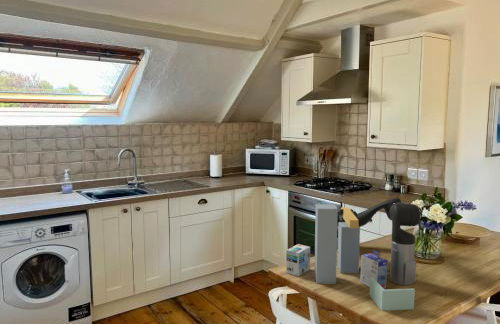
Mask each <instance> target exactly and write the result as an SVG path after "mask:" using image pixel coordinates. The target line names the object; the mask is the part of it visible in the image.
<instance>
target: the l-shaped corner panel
mask: <svg viewBox="0 0 500 324" xmlns="http://www.w3.org/2000/svg"><path fill="white" fill-rule="evenodd" d="M415 293H416V290H415V288H391V289H387V288H386V289H383V288H382V287H381V285H380V284H379V283H378V282H377V281H376V280H375V279H374V278H373V277H370V287H369V297H370V298H371V299H372V301H374V303H375V304H376V305H377V306H378V308H379V309H380V310H381V311H403V310H414V309H415V298H416V297H415V296H416V295H415Z"/></svg>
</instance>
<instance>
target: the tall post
mask: <svg viewBox="0 0 500 324" xmlns="http://www.w3.org/2000/svg"><path fill="white" fill-rule="evenodd" d="M337 212H339V210H338V206H336V205H335V204H333V203H331V204H327V203H326V204H325V203H324V204H323V203H322V204H319V203H318V204H317V203H315V217H314V218H315V224H314V225H315V228H314V229H315V230H314V231H315V232H314V278H315V282H316V284H328V285H329V284H331V285H332V284H335V285H336V284H337V258H338V238H337Z"/></svg>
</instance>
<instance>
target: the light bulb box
mask: <svg viewBox="0 0 500 324" xmlns="http://www.w3.org/2000/svg"><path fill="white" fill-rule="evenodd" d="M285 255H286V265H285V266H286V274H289V275H293V276H297V277H300V276H301V275H303V274H305V273H306V272H308V271H310V270H311V246H308V245H303V244H300V243H298V244H296V245H294V246H292V247H290V248H288V249H286V254H285Z"/></svg>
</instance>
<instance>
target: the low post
mask: <svg viewBox="0 0 500 324" xmlns="http://www.w3.org/2000/svg"><path fill="white" fill-rule="evenodd" d="M360 235H361V227H359V225H358V228H349V226H348V225H347V223H346V222H339V225H338V238H337V268H338V270H339V273H341V274H359V272H360V246H361V245H360V244H361V243H360V242H361V240H360V239H361V236H360Z"/></svg>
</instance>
